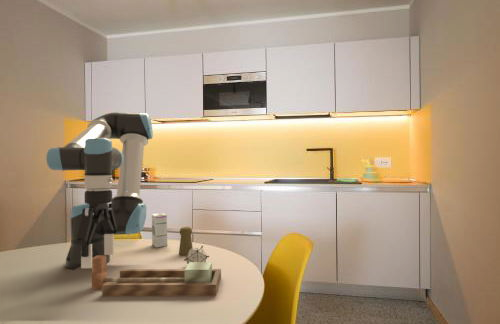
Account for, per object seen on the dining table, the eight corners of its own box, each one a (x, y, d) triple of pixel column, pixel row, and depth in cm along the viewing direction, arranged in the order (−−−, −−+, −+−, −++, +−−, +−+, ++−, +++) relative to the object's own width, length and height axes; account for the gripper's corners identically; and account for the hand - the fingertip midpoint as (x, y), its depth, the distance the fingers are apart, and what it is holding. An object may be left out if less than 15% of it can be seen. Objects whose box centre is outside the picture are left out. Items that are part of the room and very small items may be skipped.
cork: (179, 251, 135) (179, 226, 135) (194, 251, 136) (193, 225, 136) (177, 255, 129) (177, 228, 129) (192, 255, 130) (192, 228, 130)
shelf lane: (102, 299, 88) (102, 285, 88) (121, 281, 101) (121, 269, 101) (216, 299, 88) (216, 284, 88) (221, 281, 101) (220, 268, 101)
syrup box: (167, 245, 145) (167, 214, 145) (155, 247, 142) (154, 215, 142) (164, 243, 150) (163, 212, 150) (151, 245, 147) (151, 213, 147)
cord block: (88, 291, 91) (88, 260, 91) (100, 282, 98) (99, 253, 98) (208, 291, 91) (208, 259, 91) (212, 281, 98) (211, 252, 98)
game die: (199, 281, 111) (202, 264, 105) (178, 271, 113) (180, 253, 107) (211, 262, 118) (214, 245, 112) (191, 253, 120) (193, 235, 114)
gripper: (89, 192, 82) (89, 274, 82) (127, 187, 107) (127, 249, 107) (60, 193, 82) (60, 274, 82) (105, 187, 107) (105, 249, 107)
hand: (98, 260), depth 94 cm, fingers open, 13 cm apart
